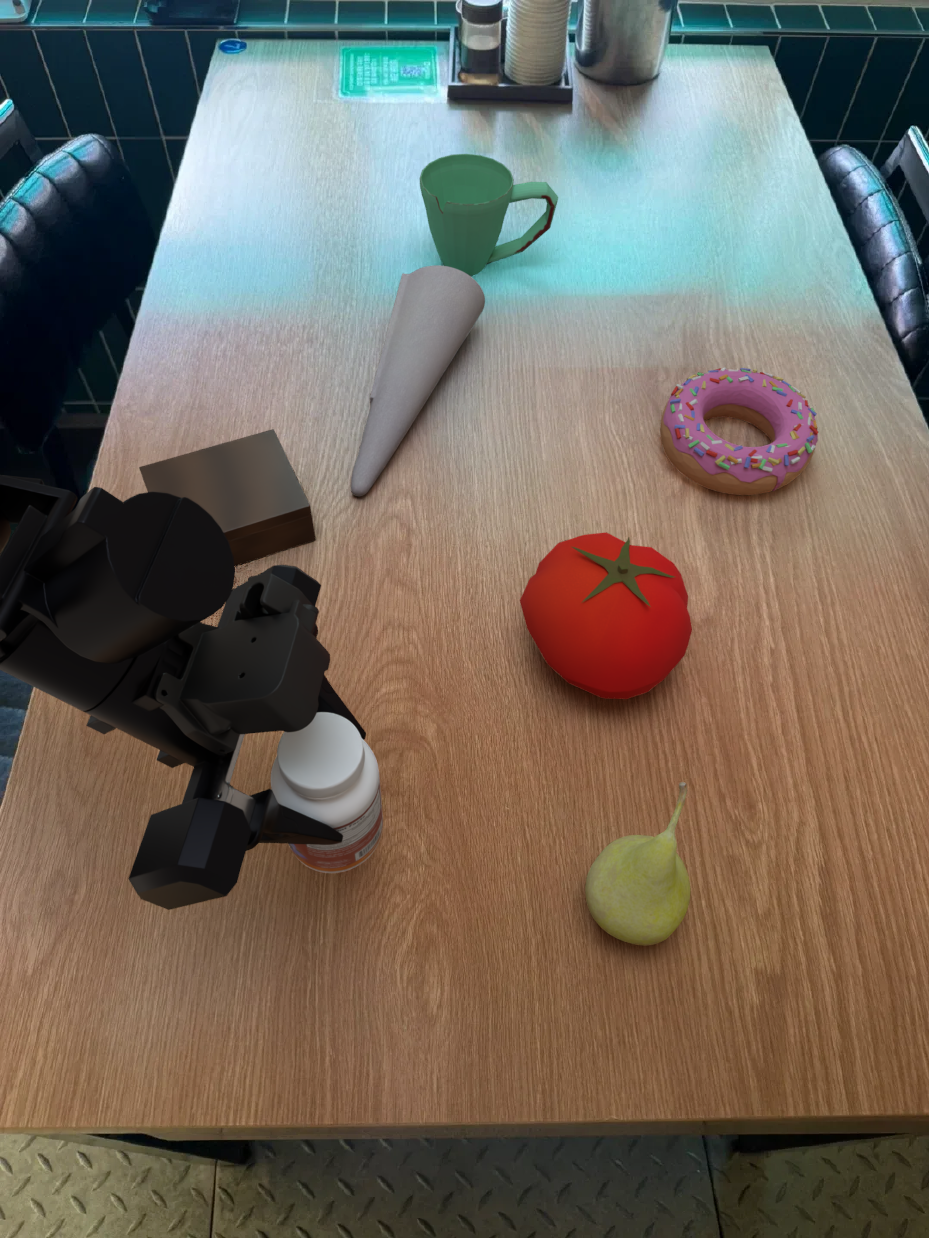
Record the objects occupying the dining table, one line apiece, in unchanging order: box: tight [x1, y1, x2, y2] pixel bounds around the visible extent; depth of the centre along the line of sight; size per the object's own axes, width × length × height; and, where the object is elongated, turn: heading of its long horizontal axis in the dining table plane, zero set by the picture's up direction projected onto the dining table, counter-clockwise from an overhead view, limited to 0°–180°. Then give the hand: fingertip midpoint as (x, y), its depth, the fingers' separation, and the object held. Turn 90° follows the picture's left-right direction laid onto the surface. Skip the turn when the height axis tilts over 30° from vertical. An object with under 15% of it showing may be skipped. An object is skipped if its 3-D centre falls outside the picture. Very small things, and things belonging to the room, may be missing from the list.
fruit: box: [584, 781, 692, 947], centre depth 60 cm, size 7×8×12 cm
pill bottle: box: [270, 712, 384, 874], centre depth 56 cm, size 6×6×11 cm
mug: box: [419, 153, 559, 277], centre depth 103 cm, size 15×10×10 cm
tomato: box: [519, 531, 693, 700], centre depth 72 cm, size 13×12×11 cm
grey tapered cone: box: [350, 264, 486, 497], centre depth 91 cm, size 8×9×26 cm
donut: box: [659, 367, 819, 496], centre depth 88 cm, size 14×14×5 cm
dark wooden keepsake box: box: [139, 428, 317, 567], centre depth 82 cm, size 12×10×4 cm
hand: (350, 788), depth 55 cm, fingers closed on pill bottle, 6 cm apart
